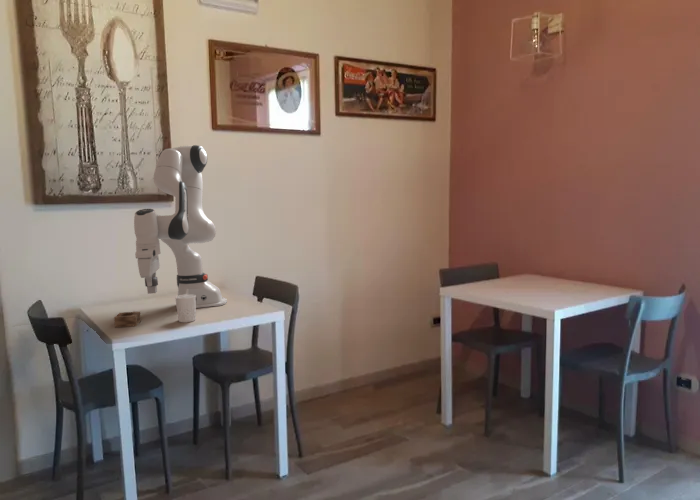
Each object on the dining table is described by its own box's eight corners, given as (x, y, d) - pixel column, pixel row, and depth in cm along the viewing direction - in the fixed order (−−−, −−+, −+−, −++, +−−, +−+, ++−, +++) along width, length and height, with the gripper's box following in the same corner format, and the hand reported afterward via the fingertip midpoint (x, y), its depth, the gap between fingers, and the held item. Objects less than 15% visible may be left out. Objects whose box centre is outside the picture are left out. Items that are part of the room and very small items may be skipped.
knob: (159, 290, 230) (158, 276, 229) (157, 293, 225) (155, 278, 224) (147, 291, 229) (146, 276, 228) (144, 294, 224) (143, 279, 223)
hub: (140, 321, 231) (140, 311, 231) (136, 326, 223) (135, 315, 223) (120, 322, 230) (119, 312, 230) (115, 327, 222) (114, 317, 222)
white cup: (179, 318, 233) (177, 294, 232) (198, 317, 234) (197, 293, 233) (175, 323, 226) (173, 298, 224) (195, 322, 226) (193, 297, 225)
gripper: (145, 246, 234) (148, 279, 236) (134, 254, 214) (137, 290, 216) (161, 246, 235) (164, 278, 237) (151, 253, 215) (154, 289, 217)
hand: (151, 284), depth 227 cm, fingers closed on knob, 5 cm apart
